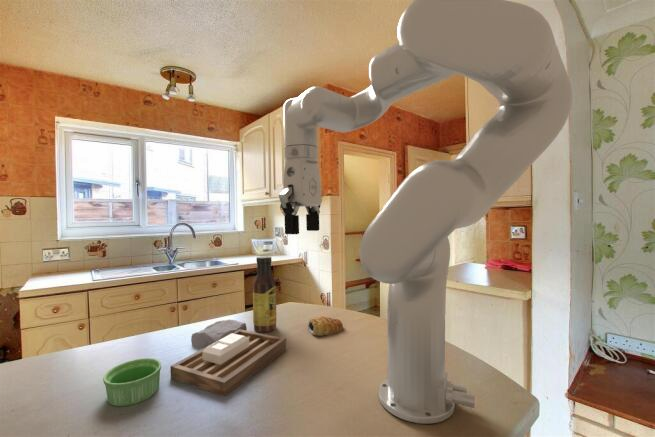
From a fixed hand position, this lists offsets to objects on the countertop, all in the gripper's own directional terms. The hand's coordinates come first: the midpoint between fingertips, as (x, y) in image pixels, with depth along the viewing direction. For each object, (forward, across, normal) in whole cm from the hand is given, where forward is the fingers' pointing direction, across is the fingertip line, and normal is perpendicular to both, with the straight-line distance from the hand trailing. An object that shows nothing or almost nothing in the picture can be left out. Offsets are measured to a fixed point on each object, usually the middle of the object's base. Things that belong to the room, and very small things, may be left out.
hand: (303, 232), depth 71 cm
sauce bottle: (+28, +8, +17) cm, 33 cm away
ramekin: (+28, -26, +22) cm, 44 cm away
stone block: (+28, -2, +24) cm, 37 cm away
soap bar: (+26, -10, +14) cm, 31 cm away
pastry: (+28, +13, +2) cm, 31 cm away
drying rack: (+28, -10, +12) cm, 32 cm away
